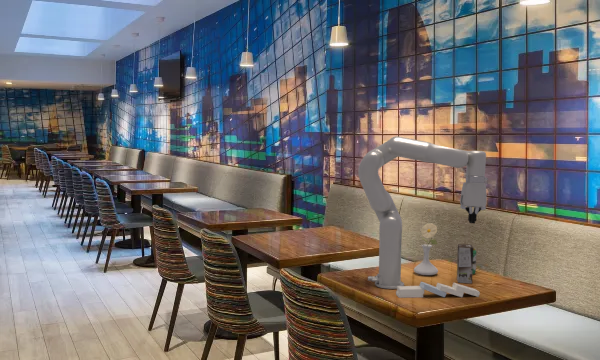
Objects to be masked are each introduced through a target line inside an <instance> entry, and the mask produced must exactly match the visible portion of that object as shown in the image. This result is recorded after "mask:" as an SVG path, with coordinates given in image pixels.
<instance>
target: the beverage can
mask: <svg viewBox="0 0 600 360" xmlns="http://www.w3.org/2000/svg"><path fill="white" fill-rule="evenodd" d="M476 272H477V250H476V248H474V247H473V270H472V276H473V275H475V274H476Z"/></svg>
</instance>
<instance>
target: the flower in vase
mask: <svg viewBox="0 0 600 360" xmlns="http://www.w3.org/2000/svg"><path fill="white" fill-rule="evenodd" d="M420 232H421V239H422V240H423V241H425V242H426V243H427V244H421V247H422V250H423V260H422V261H421V262H420V263H419V264H417V265H416V266H415V267H414V268H413V272H414V273H416V274H418V275H422V276H433V275H436V274H438V272H439V270H438V268H437V267H436V266H435V265H434V264H433V263H431V261H430V260H429V259H430V257H429V256H430V252H431V251H430V250H431V248H432V247H433V245H438V242H437V240H436V239H435V238H434V237H435V235H436V234H437V232H438V227H437V225H436V224H434V223H432V222H430V223H429V222H427V223H426V224H424V225H423V226H422V228H421V230H420ZM433 238H434V239H433ZM427 239H430V240H429V242H428V240H427ZM430 243H431V244H432V245H431V244H430Z"/></svg>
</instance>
